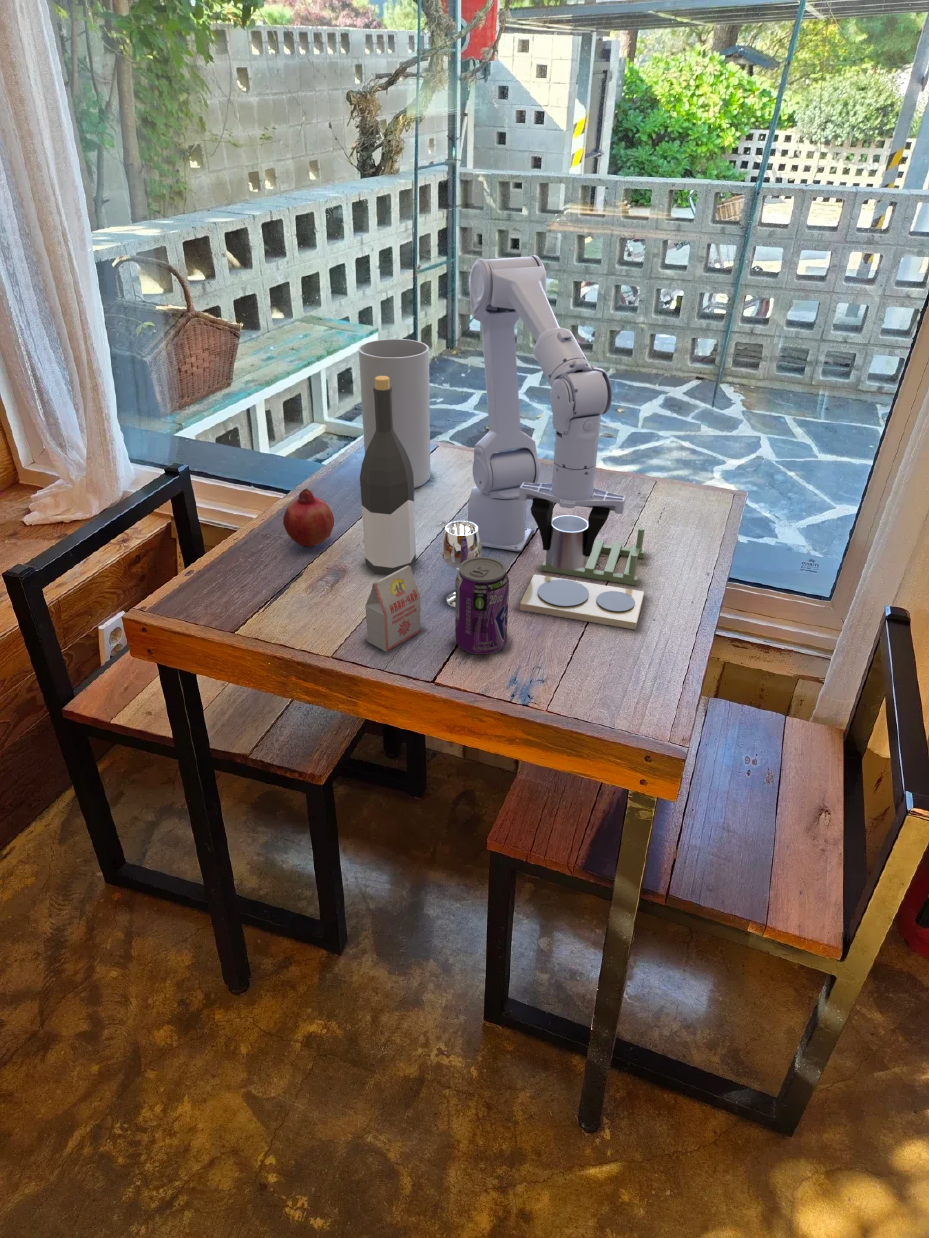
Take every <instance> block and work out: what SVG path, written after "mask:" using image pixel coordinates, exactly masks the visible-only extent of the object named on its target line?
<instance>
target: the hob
mask: <svg viewBox="0 0 929 1238" xmlns="http://www.w3.org/2000/svg"><path fill="white" fill-rule="evenodd" d="M644 596H645V591H642V590H636V589H630V588H625V587H624V588H623V587H617V586H611V585H605V584H598V583H592V582H586V581H580V580H573V579H567V578H561V577H554V576H548V575H542V574H536V573H534V574H532V577H531V579H530V582H529V583H528V585H527V587H526V590H525V592H524V594H523V596H522V598H521V600H520V602H519V611H523V612H529V613H536V614H541V615H548V616H553V617H559V618H565V619H571V620H577V621H580V622H581V621H583V622H587V623H588V622H589V623H593V624H599V625H605V626H610V627H611V626H612V627H617V628H624V629H629V630H633V631H635V630H637V627H638V623H639V619H640V615H641V610H642V606H643V602H644V599H645V597H644Z"/></svg>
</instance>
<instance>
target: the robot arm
mask: <svg viewBox="0 0 929 1238" xmlns="http://www.w3.org/2000/svg"><path fill="white" fill-rule="evenodd" d="M468 288H469V289H468V290H469V301H470V311H471V317H472V319H474V320H475V321H477V322H480V325H481V326H480V327H481V336H482V350H483V362H484V363H483V364H484V377H485V389H486V404H487V415H488V417H487V418H488V432H487V433H486V434H485V435H484V436H483V437H482V438H481V439H480V440H479V441H478V442H477V443H476V444H475V445H474V446H473V463H472V477H473V481H474V484H475V485H474V486H473V488H472V489H471V492H470V494H469V498H468V505H467V508H468V509H467V521H468V522H472V523H474V524H476V525H477V527H478V530H479V534H480V539H481V547H486V548H491V549H492V548H493V549H499V550H505V551H512V552H520V553H521V552H522V551H523V549H524V547H525V545H526V543H527V542H528V539H529V537H530V536H531V534H532V528H528V527H527V526H526V525H527V509H528V500H531V501H532V503H531V506H530V513H531V515H532V517H533V519H534V521H535V523H536V526H537V528H538V531H539V535H540V538H541V543H542V550H543V551H546V552H547V551H548V548H549V534H550V522H551V520H552V519H553V513H554V506H555V504H558V505H559V507H560V508H565V509H574V508H576V507H581V508H582V507H583V508H589V509H591V510H590V512H589V515H588V518H587V521H588V538H587V543H586V549H585V556H586V558H589V557H590V555H591V552H592V548H593V544H594V543H595V540H596V539H597V537H598V535H599V534H600V531H602V528H603V527H604V525H605V524H606V522H607V520H608V518H609V515H610V512H611V511H612V512H614V513H615V514H619V515H623V513H624V510H625V506H626V498H627V496H626V495H622V494H617V493H613V492H611V491H607V490H603V489H600V488H597V487H594V486H595V478H596V469H597V458H598V449H599V440H600V439H599V438H600V429H601V420H602V415H605V414H606V413H608V412H609V410H610V408H611V406H612V401H613V387H612V383H611V379H610V377H609V375H608V373H607V372H606V370H605V369H603V368H600V367H599V368H598V367H597V365H596V364H591V363H590V362H589V360H588V358H587V357H586V355H585V354H584V351H583V350H582V348H581V345H579V343H578V340H577V338H576V337H575V335H574V334H573V332H572V331H571V330H570V329H568V328H564V327H560V325H559V323H558V320H557V318H556V315H555V314H554V311H553V309H552V306H551V304H550V302H549V299H548V296H547V294H546V291H547V271H546V269H545V266H544V263H543V262H542V260H541V258H540V257H539V256H538V255H535V254H531V255H529V256H518V257H517V256H516V257H504V258H503V257H502V258H489V259H488V258H487V259H485V258H478V259H476V260H475V262H474V263H473V265H472V267H471V270H470V274H469V277H468ZM519 319H521V321H522V323H523V324H524V326H525V328H526V329H527V330H528V332H529V334H531V336H532V337H533V339H534V340H535V345H534V347H533V356H534V357H535V360H536V362H537V364H538V365H539V367H540V370H541V371H542V374H543V375H544V377H545V379H546V380H547V383H548V385H549V386H550V388H551V389H550V390H549V403H550V407H551V411H552V421H551V422H552V427H553V429H555V439H554V440H555V441H554V450H553V463H552V464H553V465H552V466H553V467H552V480H551V482H538V481H539V479H540V477H541V462H540V458H539V456H538V451H537V445H536V441H535V440H534V439H533V438H532V437H531V436H530V435H528V434H527V433H526V432H524V431H522V428H521V415H520V413H521V412H520V399H519V395H520V394H519V382H518V365H517V350H516V335H515V334H516V333H515V326H516V324H517V322H518V321H519Z"/></svg>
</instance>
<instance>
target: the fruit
mask: <svg viewBox="0 0 929 1238" xmlns="http://www.w3.org/2000/svg"><path fill="white" fill-rule="evenodd" d="M282 525H283V527H284V530H285V531H286V532H285V533H286V534H287V535H288V536H289V538H290V539H291V540H292V541H293V542H295V543H297V544H298V545H299V546H301V547H304V548H305V547H307V548H308V547H314V546H317V545H319V544H321V543H323V542H324V541H326V540H327V539H329V537H331V534H332V532H333V529H334V526H335V516H334V513H333V511H332V510H331V508H330V506H329V505H328V503H327V502H326V501H325V500H324V499H322V498H320V497H317V496H314V494H313V493H312V491H311V490H310V489H309V488H304V489H302V490H301V491H300V493H299V495H298V498H296V499H294V500H293V501H292V502H290V503H289V504H288V506H287V507H286V509H285V512H284V514H283V519H282Z"/></svg>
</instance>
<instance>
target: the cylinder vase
mask: <svg viewBox="0 0 929 1238" xmlns="http://www.w3.org/2000/svg"><path fill="white" fill-rule="evenodd" d="M358 365H359V366H358V367H359V381H360V382H359V383H360V396H361V397H360V398H361V414H362V415H361V416H362V430H363V433H362V434H363V447H364V454H365V453H366V450H367V448H368V446H369V444H370V442H371V440H372V438H373V436H374V434H375V431H376V419H375V400H374V392H373V388H374V387H375V378H376V377H377V376H387V377H389V378H390V387H392V392H391V395H392V419H393V430H394V432H395V434H396V435H397V437H398V439H399V440H400V442H401V444H402V445H403V447H404V448H405V450H406V453H407V455H408V458H409V460H410V463H411V467H412V470H413V477H414V489H416V488H419V487H421V486H423V485H425V484H426V483H427V482H428V481H429V480H430V478H431V474H432V473H431V410H430V409H431V408H430V407H431V406H430V405H431V404H430V402H431V400H430V399H431V398H430V347H429V346H428V344H426V343H424V342H421V341H419V340H414V339H408V338H407V339H405V338H383V339H376V340H370V341H367V342H365V343H362V344H360V345H359V346H358Z"/></svg>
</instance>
